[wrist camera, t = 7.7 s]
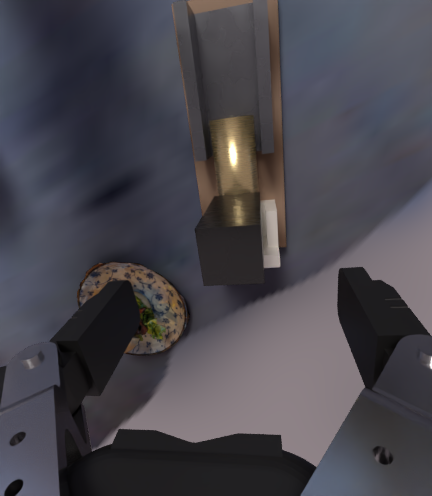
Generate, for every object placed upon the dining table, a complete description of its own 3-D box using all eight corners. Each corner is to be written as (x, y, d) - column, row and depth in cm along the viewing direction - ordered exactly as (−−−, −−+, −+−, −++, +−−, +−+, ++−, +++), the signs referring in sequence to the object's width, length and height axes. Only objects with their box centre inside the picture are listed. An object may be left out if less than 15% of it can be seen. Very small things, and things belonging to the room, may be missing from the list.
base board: (175, 10, 21) (171, 4, 20) (275, -11, 20) (277, -18, 19) (209, 246, 28) (207, 251, 27) (285, 241, 27) (286, 246, 26)
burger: (212, 309, 31) (200, 362, 24) (143, 361, 35) (116, 418, 29) (127, 230, 29) (87, 263, 22) (64, 295, 33) (14, 341, 26)
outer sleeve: (185, 20, 20) (172, 2, 17) (265, 4, 19) (266, -18, 16) (203, 156, 24) (195, 161, 21) (272, 148, 23) (274, 152, 20)
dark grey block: (211, 121, 22) (177, 121, 13) (255, 115, 21) (252, 111, 12) (224, 235, 25) (206, 300, 16) (263, 233, 24) (265, 298, 16)
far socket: (210, 205, 25) (199, 222, 21) (274, 199, 24) (278, 216, 20) (215, 246, 27) (207, 270, 22) (276, 242, 26) (280, 267, 21)
